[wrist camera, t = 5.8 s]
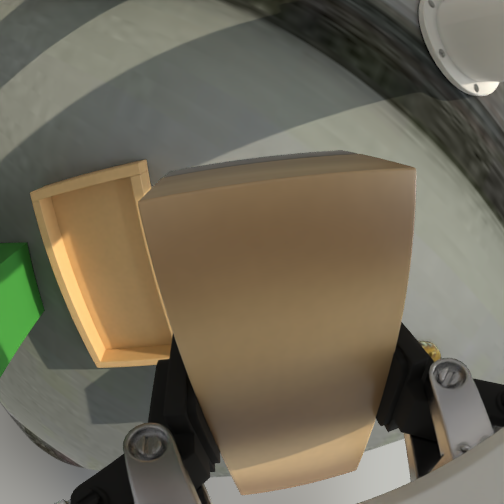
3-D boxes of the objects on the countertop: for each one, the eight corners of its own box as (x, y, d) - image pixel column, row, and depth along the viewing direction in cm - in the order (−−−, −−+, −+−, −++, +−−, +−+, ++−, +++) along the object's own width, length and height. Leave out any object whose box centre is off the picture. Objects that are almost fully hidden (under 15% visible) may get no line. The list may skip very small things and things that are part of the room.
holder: (44, 185, 20) (29, 192, 18) (146, 159, 21) (138, 162, 19) (103, 351, 27) (97, 368, 25) (189, 344, 28) (188, 362, 26)
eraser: (167, 171, 8) (136, 201, 5) (342, 149, 8) (417, 167, 5) (233, 432, 13) (241, 495, 9) (333, 412, 13) (356, 470, 10)
